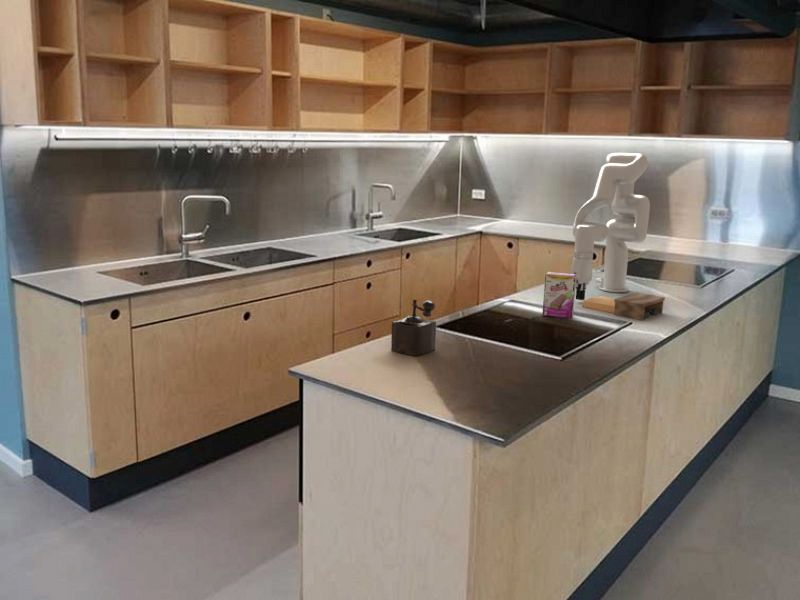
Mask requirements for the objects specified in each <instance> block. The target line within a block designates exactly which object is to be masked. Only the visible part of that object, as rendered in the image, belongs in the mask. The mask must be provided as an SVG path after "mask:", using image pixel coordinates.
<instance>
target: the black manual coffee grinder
mask: <svg viewBox="0 0 800 600" xmlns="http://www.w3.org/2000/svg"><path fill="white" fill-rule="evenodd" d="M417 302H418V300H417V299H416V298H414V299H412V303H411V306H412V314H411V315H407V316H405V317H403V318H400V319H398V320H393V321H391V349H390V351H391V350H392V351H393V352H396V353H398V354H402V355H403V354H404V355H408V356H414V357H419V356H423V355H426V354H428V353H431V352H434V351H436V334H437V322H436V321H435V320H431V319H425V318H428V317H432V312H433V311H434V310H435V309H436V305H435V302H433V301H432V300H428V299H427V300H425V301H423V303H422V306H419V305H418V303H417ZM417 310H419V311H421V312H422V315H423V316H424V317H425V318H423V317H422V316H419V315H417Z"/></svg>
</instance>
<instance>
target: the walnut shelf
mask: <svg viewBox="0 0 800 600" xmlns="http://www.w3.org/2000/svg"><path fill="white" fill-rule="evenodd" d="M613 299H614V302H615V311H614V313H613V314H614V315H615V316H619V317H623V318H630V319H634V320H637V321H638V320H639V321H644V320H645V319H648V318H649V313H650V312H651V315H652V316H656V315H658V314H660V315H661V314H663V308H664V301H665V299H666V297H664V296H659V295H653V294H649V293H648V294H647V293H641V292H635V293H634V292H633V293H630V294H628V295H627V294H626V295H624V296H621V297H618V298H613Z"/></svg>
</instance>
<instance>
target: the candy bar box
mask: <svg viewBox="0 0 800 600" xmlns="http://www.w3.org/2000/svg"><path fill="white" fill-rule="evenodd" d="M576 276H577V275H576V274H571V273H564V272H553V271H547V272H546V273H545V276H544V277H545V278H544V288H543V300H542V301H543V303H542V317H551V318H558V319H559V318H560V319H569V320H570V319H571V320H572V318H573V317H574V310H575V300H576Z"/></svg>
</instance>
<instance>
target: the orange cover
mask: <svg viewBox="0 0 800 600" xmlns="http://www.w3.org/2000/svg"><path fill="white" fill-rule="evenodd" d="M614 299H615V298H611V297H605V296H601V295H599V296H598V295H597V296H595V297H590V298H587V299H584V300H582V307H583V306H584V307H583V308H587V307H588V308H587V309H591V310H592V309H593V310H597V311H602V312H608V313H612V314H614V311H615V302H614Z"/></svg>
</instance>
